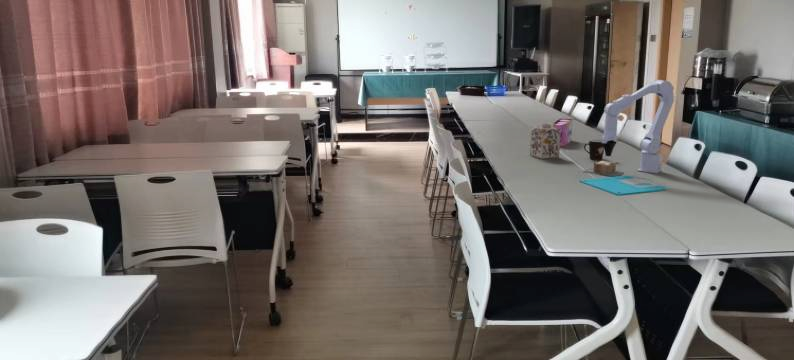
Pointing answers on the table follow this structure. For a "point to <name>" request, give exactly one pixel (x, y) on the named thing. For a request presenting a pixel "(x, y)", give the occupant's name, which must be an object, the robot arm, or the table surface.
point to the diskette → (623, 185)
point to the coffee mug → (595, 149)
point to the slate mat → (614, 173)
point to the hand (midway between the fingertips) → (608, 155)
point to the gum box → (564, 130)
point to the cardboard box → (604, 167)
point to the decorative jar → (545, 142)
